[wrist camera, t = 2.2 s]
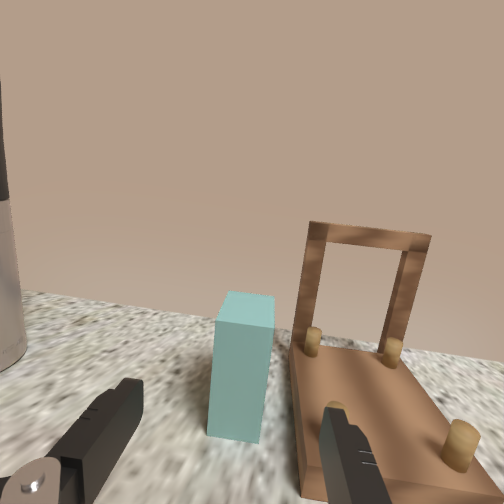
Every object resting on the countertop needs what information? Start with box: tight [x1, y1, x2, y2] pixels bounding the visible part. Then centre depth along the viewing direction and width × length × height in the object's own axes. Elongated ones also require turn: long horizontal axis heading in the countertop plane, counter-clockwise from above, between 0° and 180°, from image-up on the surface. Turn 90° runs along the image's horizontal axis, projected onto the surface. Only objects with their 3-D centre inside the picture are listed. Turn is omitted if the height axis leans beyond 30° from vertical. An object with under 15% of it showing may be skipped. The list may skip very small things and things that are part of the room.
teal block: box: [207, 291, 275, 444], centre depth 24 cm, size 4×6×11 cm
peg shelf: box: [288, 221, 504, 504], centre depth 24 cm, size 13×16×18 cm
